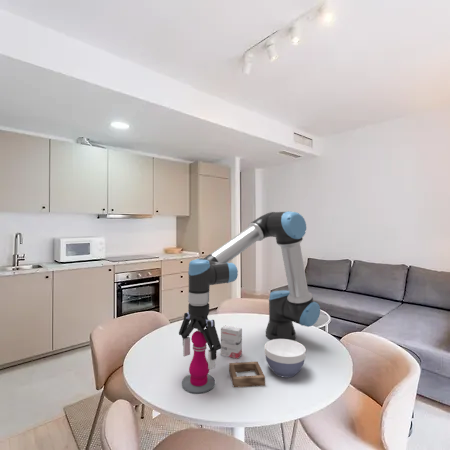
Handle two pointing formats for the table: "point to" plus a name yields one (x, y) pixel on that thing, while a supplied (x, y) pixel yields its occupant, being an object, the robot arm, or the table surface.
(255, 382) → the collar
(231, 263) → the robot arm
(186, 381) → the coaster
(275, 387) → the table surface
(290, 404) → the table surface
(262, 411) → the table surface
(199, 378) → the pepper mill
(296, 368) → the bowl
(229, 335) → the ink box
